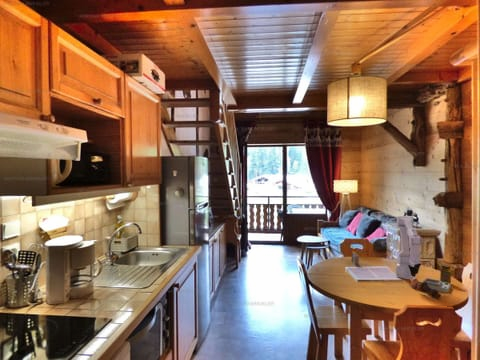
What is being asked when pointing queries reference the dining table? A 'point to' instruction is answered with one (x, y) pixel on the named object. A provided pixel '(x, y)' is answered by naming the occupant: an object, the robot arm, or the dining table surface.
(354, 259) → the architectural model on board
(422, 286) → the bolt
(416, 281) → the orange short cylinder
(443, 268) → the yellow metal cylinder
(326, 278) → the dining table surface
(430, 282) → the button control panel
